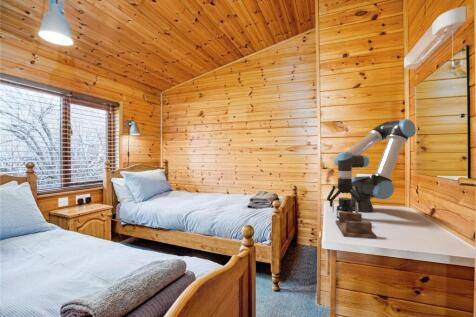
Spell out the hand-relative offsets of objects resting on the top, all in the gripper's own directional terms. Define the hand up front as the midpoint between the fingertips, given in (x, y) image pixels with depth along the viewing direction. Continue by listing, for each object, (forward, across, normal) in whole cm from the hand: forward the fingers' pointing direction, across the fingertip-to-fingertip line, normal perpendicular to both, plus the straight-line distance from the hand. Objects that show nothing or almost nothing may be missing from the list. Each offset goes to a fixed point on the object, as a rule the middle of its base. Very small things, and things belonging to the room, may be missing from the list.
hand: (344, 212), depth 142 cm
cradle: (+3, 0, -22) cm, 22 cm away
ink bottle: (+4, 0, 0) cm, 4 cm away
